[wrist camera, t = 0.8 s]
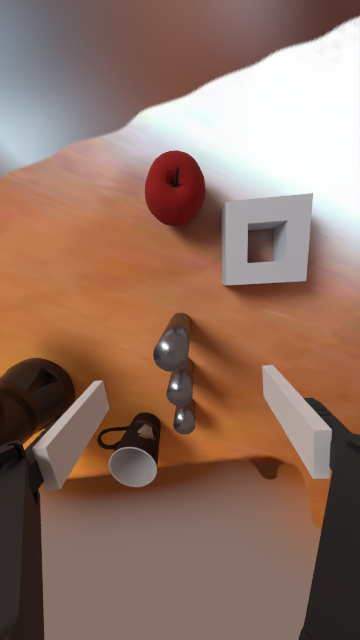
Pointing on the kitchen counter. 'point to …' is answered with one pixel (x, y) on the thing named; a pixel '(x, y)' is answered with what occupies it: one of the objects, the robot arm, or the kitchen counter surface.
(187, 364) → the medium pin
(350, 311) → the kitchen counter surface
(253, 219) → the hole block
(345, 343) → the kitchen counter surface
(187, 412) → the short pin
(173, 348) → the long pin
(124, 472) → the coffee mug
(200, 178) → the apple
